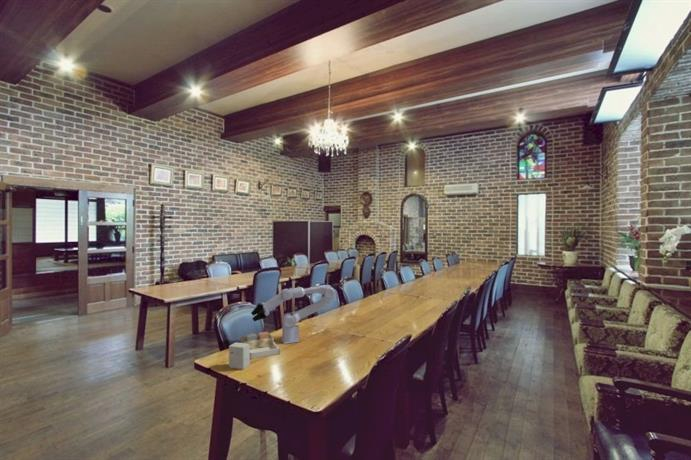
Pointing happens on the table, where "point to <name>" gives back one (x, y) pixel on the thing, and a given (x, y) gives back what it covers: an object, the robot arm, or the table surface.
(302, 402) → the table surface
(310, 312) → the robot arm
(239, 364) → the small box
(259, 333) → the terracotta tile
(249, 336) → the slate tile
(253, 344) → the bench plate
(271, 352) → the tray
